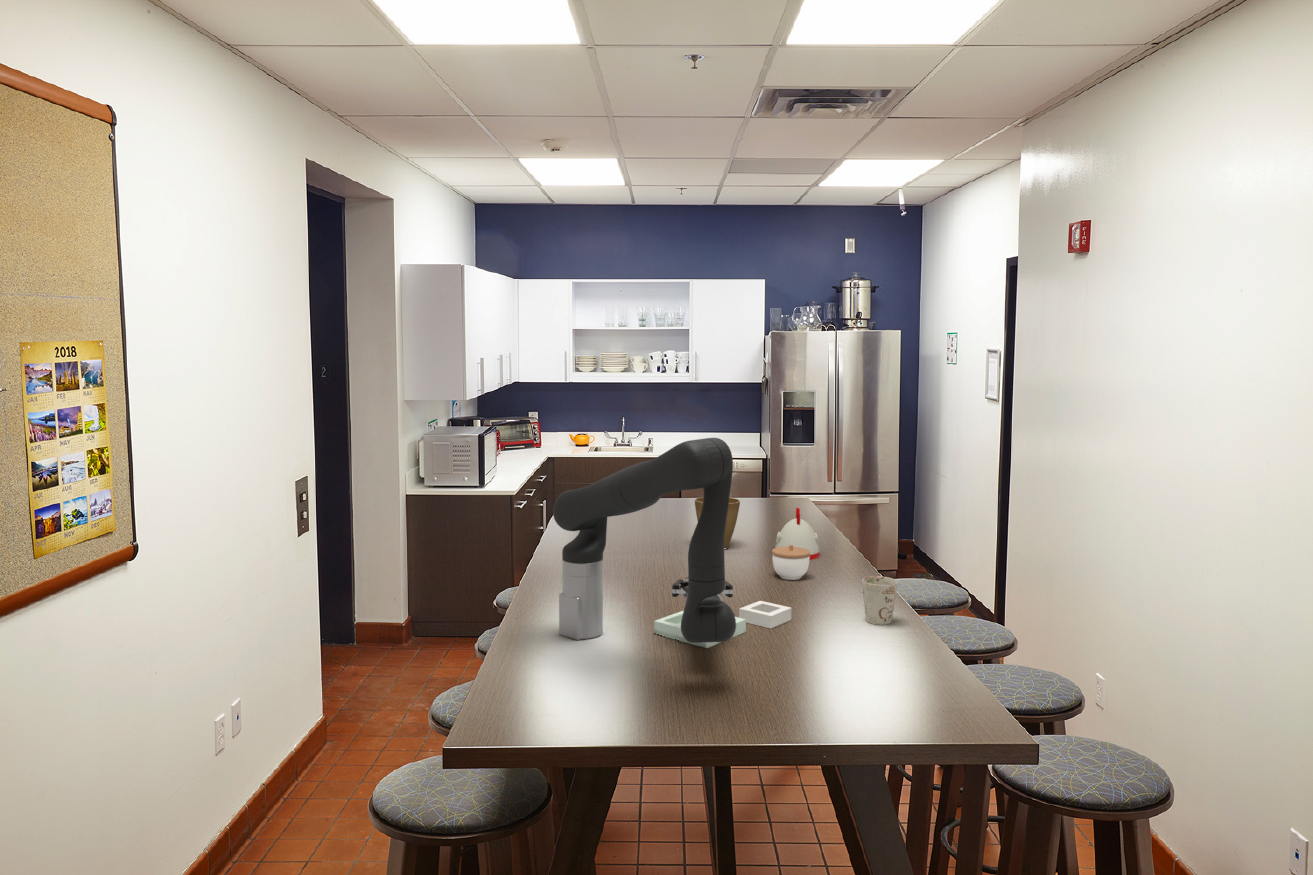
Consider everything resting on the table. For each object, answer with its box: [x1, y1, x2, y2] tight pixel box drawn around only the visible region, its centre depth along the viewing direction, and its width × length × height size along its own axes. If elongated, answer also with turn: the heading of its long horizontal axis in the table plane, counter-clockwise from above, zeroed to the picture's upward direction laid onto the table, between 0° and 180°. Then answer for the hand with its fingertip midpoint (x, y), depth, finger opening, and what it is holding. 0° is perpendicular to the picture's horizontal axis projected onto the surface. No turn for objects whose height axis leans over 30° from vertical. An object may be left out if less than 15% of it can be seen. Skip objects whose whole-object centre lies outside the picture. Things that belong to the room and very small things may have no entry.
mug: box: [861, 575, 899, 626], centre depth 215 cm, size 8×13×10 cm, turn 15°
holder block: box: [738, 600, 793, 629], centre depth 213 cm, size 9×9×3 cm
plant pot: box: [694, 496, 741, 549], centre depth 289 cm, size 15×15×16 cm
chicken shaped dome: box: [774, 507, 820, 561], centre depth 280 cm, size 14×14×15 cm
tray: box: [653, 610, 747, 649], centre depth 203 cm, size 15×15×3 cm
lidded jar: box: [771, 545, 810, 581], centre depth 253 cm, size 11×11×9 cm
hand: (700, 579), depth 205 cm, fingers closed on dowel, 4 cm apart
